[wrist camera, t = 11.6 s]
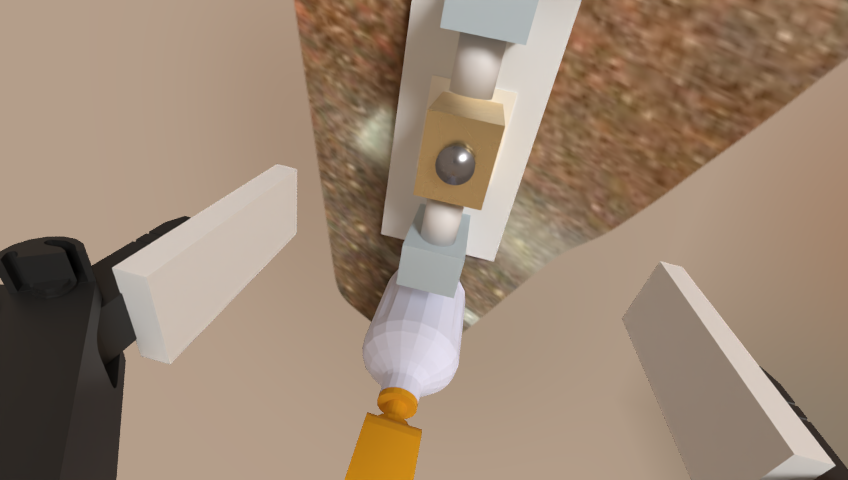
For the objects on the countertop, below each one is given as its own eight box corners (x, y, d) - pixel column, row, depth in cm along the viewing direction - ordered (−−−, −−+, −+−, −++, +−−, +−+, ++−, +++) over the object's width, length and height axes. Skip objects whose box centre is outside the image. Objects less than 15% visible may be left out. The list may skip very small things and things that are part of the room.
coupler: (430, 160, 33) (410, 199, 25) (443, 91, 30) (425, 111, 22) (484, 172, 33) (480, 215, 25) (502, 104, 30) (505, 129, 22)
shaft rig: (421, -52, 26) (391, -86, 19) (585, -20, 26) (623, -42, 18) (383, 229, 39) (355, 278, 31) (493, 256, 38) (493, 313, 30)
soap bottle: (382, 309, 45) (282, 558, 24) (397, 250, 40) (288, 493, 19) (452, 331, 44) (413, 600, 23) (475, 274, 40) (454, 547, 19)
